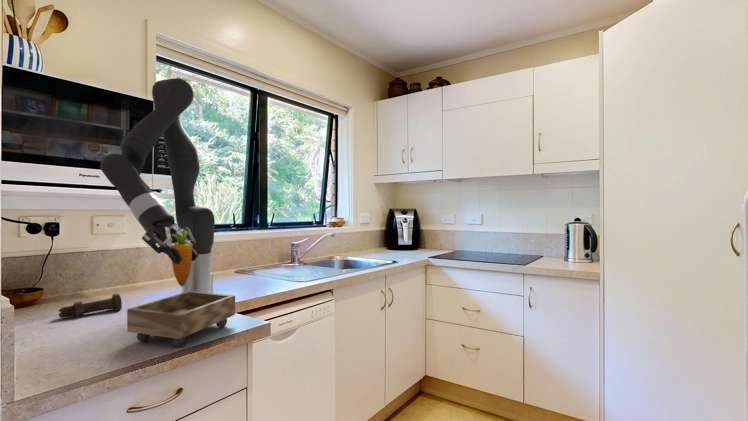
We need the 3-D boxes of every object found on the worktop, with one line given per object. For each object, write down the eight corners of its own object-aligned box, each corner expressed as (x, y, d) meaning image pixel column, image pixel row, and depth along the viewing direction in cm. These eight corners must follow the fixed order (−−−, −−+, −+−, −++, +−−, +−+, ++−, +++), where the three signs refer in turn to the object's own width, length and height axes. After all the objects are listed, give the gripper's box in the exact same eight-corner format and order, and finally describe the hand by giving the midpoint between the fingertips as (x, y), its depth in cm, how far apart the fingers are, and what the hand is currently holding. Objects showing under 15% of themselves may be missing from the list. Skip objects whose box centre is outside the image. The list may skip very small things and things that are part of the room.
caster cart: (189, 319, 110) (189, 290, 110) (235, 324, 105) (235, 295, 105) (127, 343, 90) (127, 309, 90) (179, 351, 86) (179, 315, 86)
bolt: (59, 325, 109) (119, 312, 120) (61, 320, 106) (122, 308, 117) (56, 306, 110) (116, 296, 121) (58, 301, 107) (119, 290, 118)
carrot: (178, 289, 94) (178, 231, 94) (167, 287, 97) (167, 230, 96) (196, 285, 98) (196, 229, 98) (185, 283, 101) (185, 228, 100)
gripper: (135, 204, 92) (173, 254, 89) (180, 203, 106) (215, 247, 103) (119, 224, 94) (156, 274, 91) (166, 221, 108) (199, 265, 104)
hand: (187, 260), depth 97 cm, fingers closed on carrot, 5 cm apart
